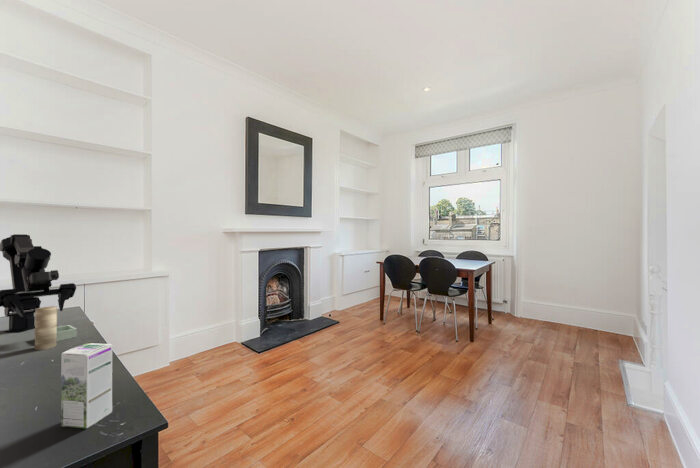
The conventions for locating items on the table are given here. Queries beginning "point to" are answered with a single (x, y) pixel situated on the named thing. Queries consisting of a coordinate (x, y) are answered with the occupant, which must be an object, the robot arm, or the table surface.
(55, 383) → the table surface
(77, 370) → the syrup box
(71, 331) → the sage collar
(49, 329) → the maple dowel
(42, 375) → the table surface
